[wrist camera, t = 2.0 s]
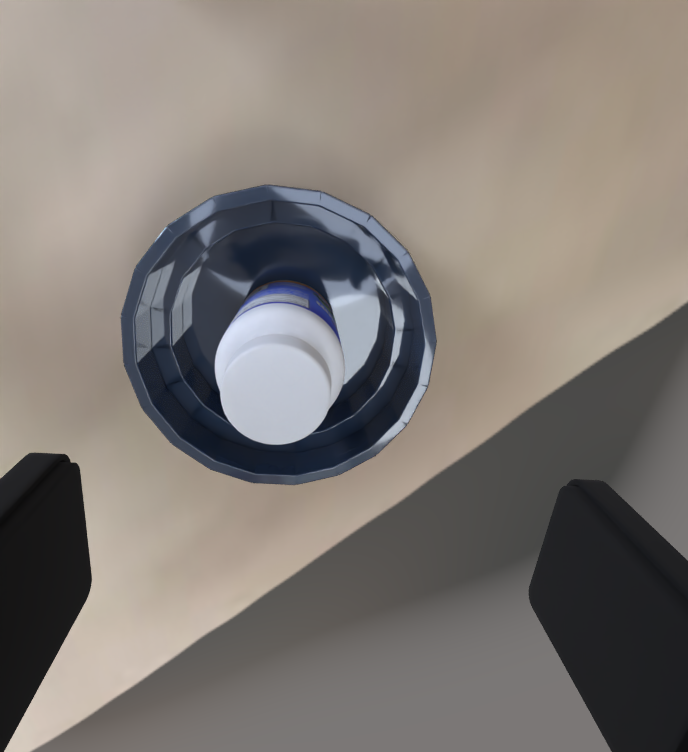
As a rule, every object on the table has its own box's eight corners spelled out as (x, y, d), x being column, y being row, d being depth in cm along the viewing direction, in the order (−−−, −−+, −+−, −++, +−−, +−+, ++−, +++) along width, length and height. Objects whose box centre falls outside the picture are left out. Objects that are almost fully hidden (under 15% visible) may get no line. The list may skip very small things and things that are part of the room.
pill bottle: (339, 367, 27) (359, 455, 18) (245, 378, 27) (216, 472, 18) (330, 272, 25) (346, 316, 16) (228, 282, 25) (185, 333, 16)
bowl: (158, 430, 28) (129, 478, 23) (149, 171, 23) (111, 165, 18) (392, 443, 29) (409, 490, 25) (432, 205, 24) (462, 207, 20)
